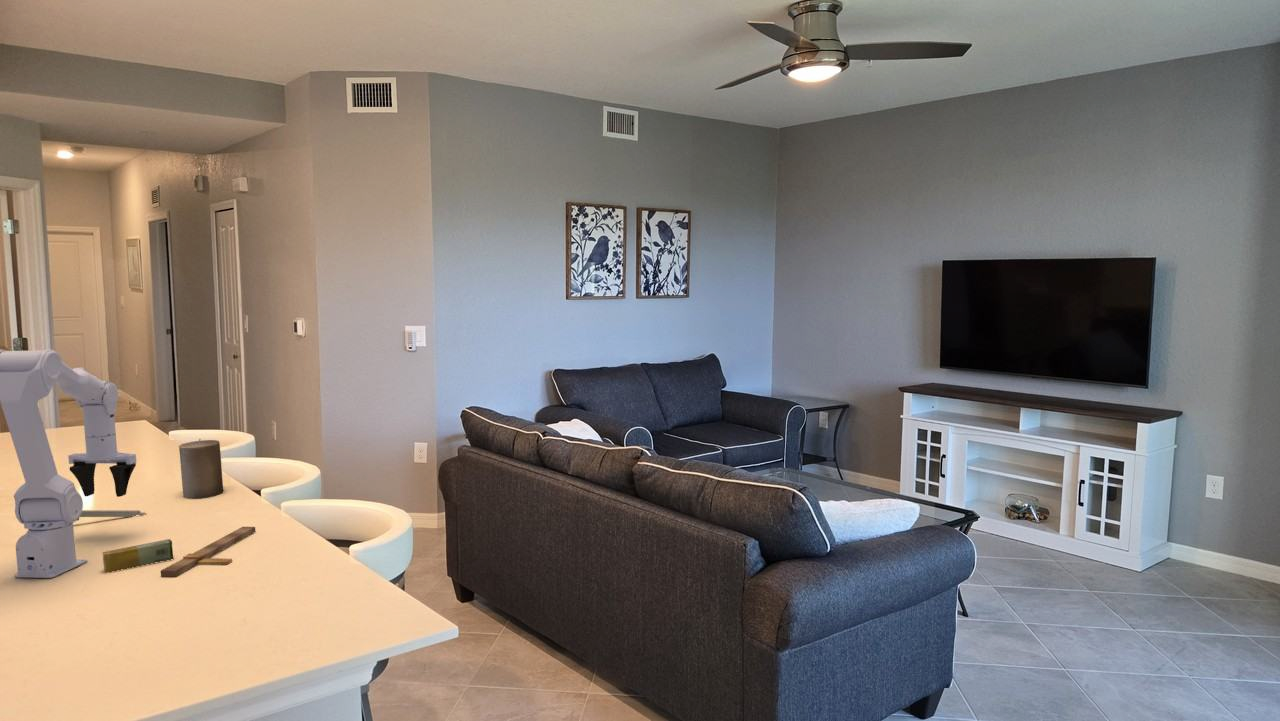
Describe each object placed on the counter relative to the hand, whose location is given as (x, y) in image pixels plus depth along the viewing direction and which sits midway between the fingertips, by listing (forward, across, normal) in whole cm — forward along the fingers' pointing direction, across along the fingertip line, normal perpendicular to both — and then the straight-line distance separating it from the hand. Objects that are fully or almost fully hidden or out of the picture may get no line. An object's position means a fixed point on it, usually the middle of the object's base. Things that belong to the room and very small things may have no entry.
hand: (105, 495), depth 185 cm
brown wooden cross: (+9, -33, +9) cm, 35 cm away
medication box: (+10, -19, +17) cm, 27 cm away
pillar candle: (+10, +1, -36) cm, 37 cm away
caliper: (+10, +11, -10) cm, 18 cm away
